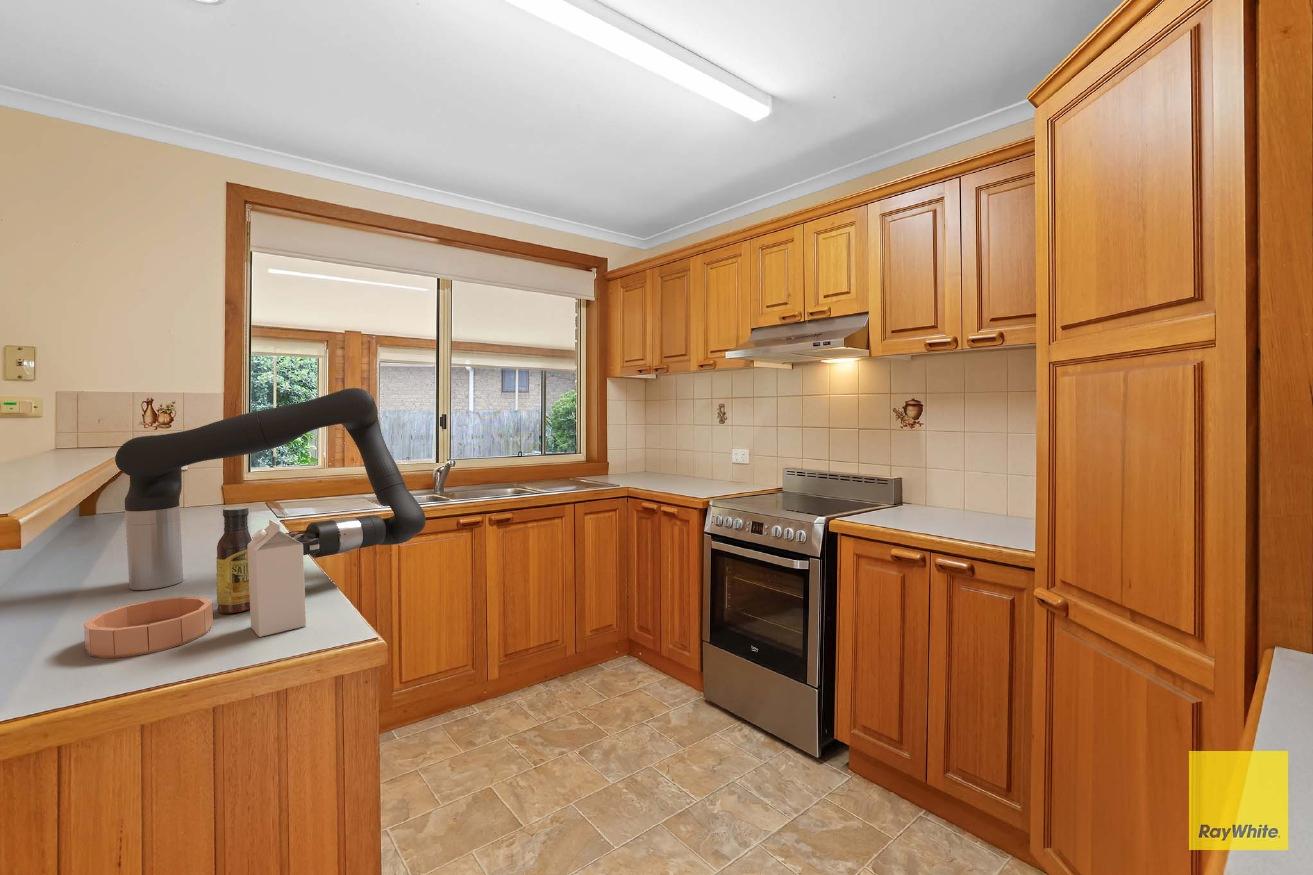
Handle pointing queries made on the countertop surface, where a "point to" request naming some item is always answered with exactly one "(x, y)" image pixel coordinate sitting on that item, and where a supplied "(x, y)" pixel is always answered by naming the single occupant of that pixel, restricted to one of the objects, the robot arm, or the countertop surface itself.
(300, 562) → the milk carton
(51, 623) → the countertop surface
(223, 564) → the sauce bottle
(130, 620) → the terracotta bowl
